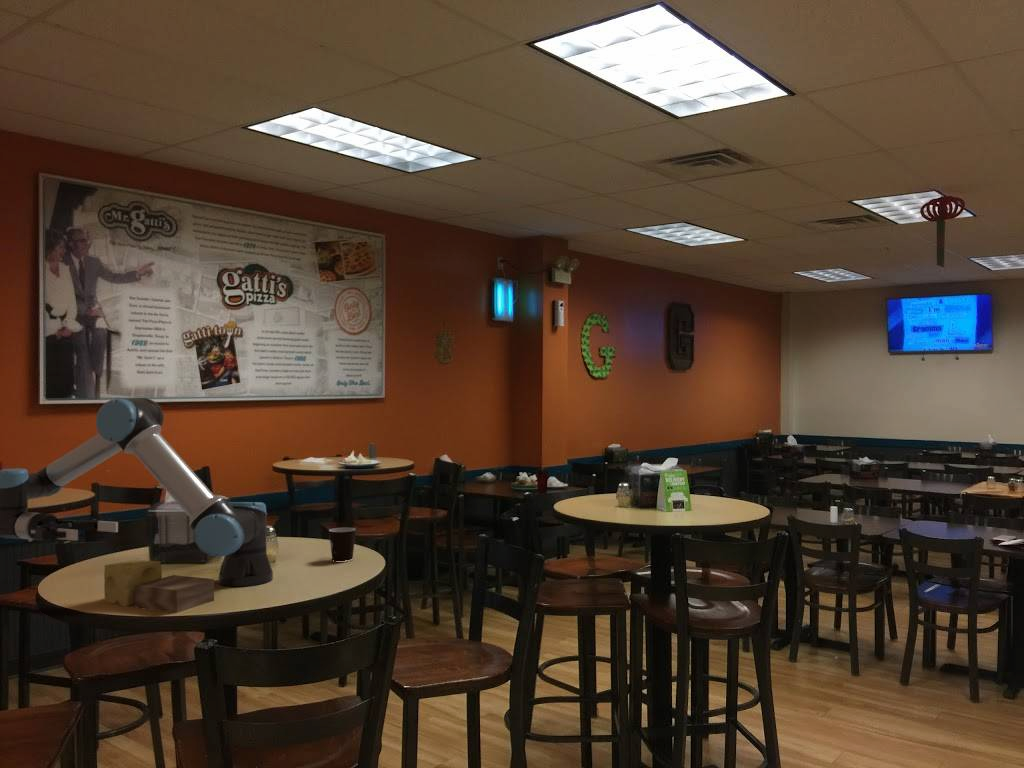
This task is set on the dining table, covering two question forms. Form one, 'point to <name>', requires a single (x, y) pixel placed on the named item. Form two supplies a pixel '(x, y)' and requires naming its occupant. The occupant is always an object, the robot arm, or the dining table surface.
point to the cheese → (128, 579)
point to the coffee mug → (342, 543)
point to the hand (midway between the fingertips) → (97, 531)
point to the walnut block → (174, 593)
